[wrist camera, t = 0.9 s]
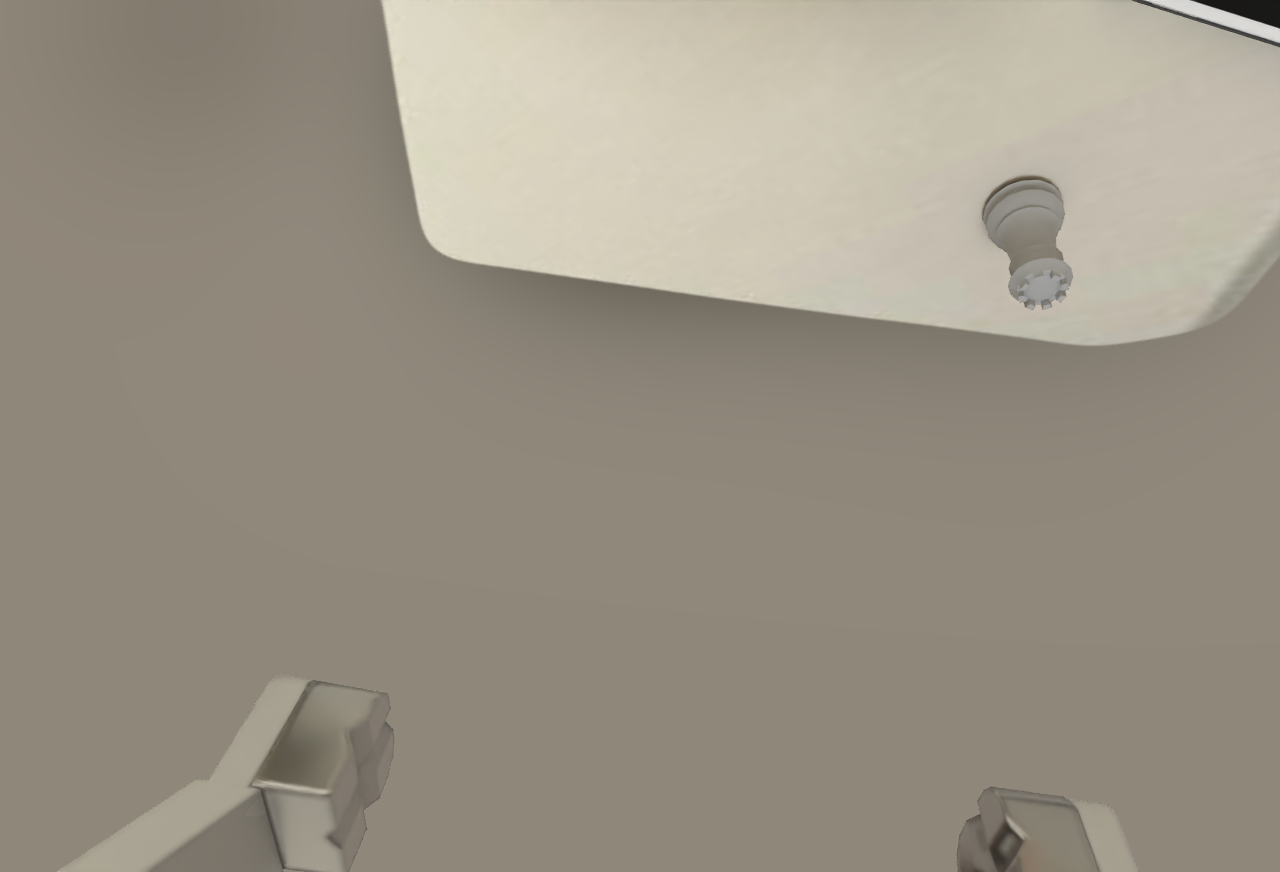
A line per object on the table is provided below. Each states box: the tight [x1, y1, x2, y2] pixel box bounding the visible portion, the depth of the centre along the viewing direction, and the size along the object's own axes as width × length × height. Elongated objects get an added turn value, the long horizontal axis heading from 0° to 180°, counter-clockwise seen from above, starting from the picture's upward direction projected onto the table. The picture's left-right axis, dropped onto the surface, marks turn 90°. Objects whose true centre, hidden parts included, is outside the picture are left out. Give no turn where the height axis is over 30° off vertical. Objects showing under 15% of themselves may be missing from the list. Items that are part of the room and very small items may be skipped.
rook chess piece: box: [983, 180, 1073, 310], centre depth 48 cm, size 4×4×8 cm
